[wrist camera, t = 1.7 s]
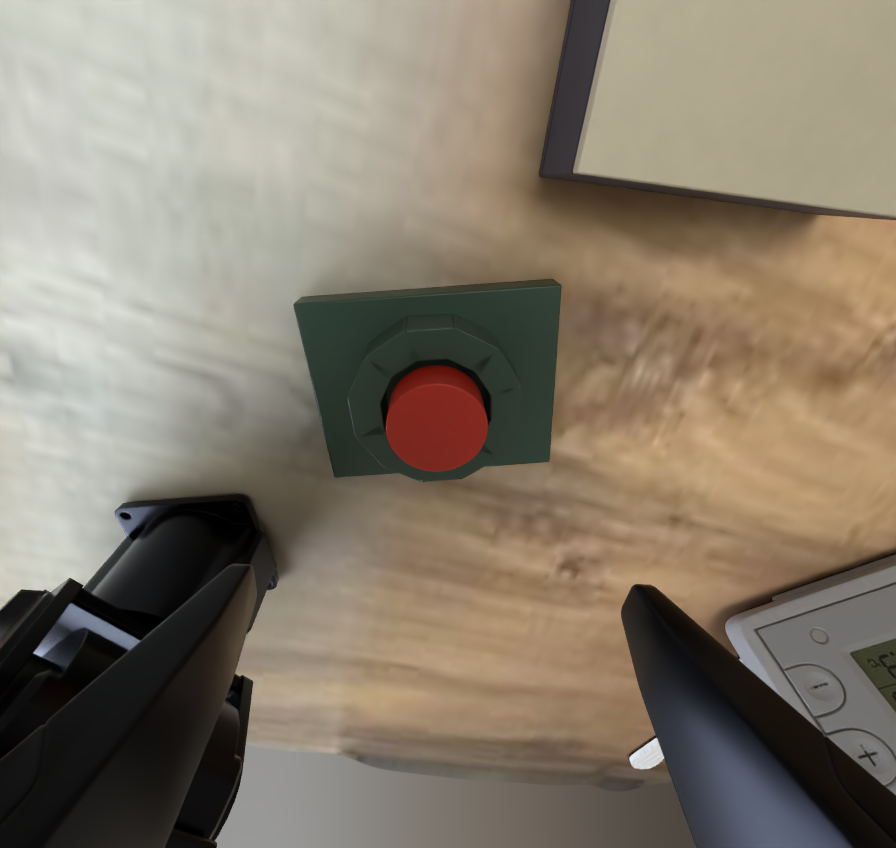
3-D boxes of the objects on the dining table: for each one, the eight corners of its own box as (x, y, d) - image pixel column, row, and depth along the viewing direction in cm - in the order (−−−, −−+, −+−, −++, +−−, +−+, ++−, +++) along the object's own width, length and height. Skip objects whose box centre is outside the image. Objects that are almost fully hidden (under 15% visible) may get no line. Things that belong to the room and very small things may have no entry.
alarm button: (395, 450, 17) (392, 476, 16) (383, 367, 15) (378, 387, 14) (483, 443, 17) (488, 468, 16) (481, 360, 15) (487, 379, 14)
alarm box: (339, 463, 21) (326, 503, 18) (301, 296, 17) (277, 316, 14) (543, 448, 21) (560, 486, 18) (553, 278, 17) (577, 295, 14)
